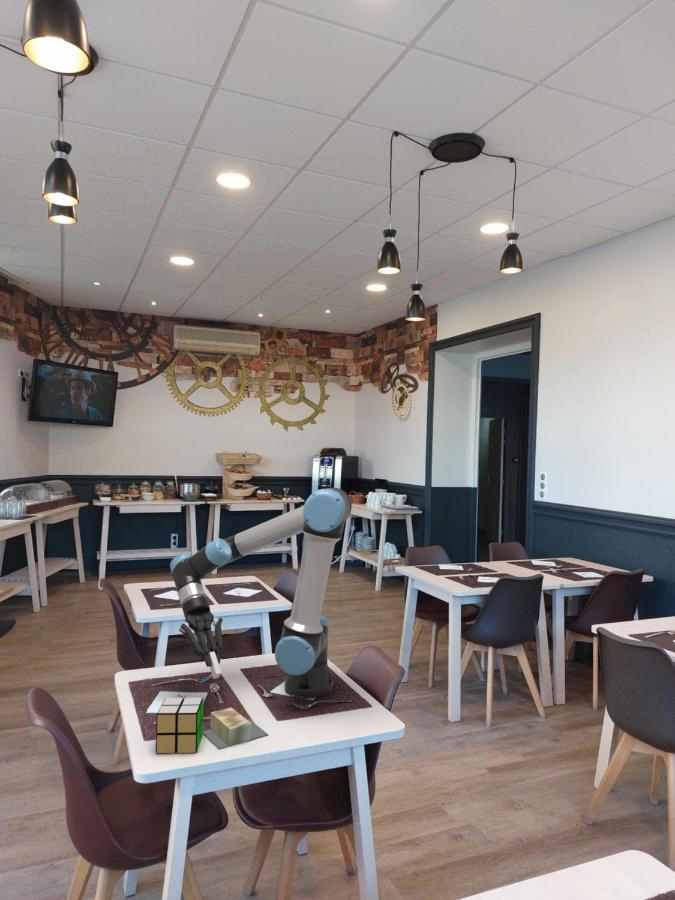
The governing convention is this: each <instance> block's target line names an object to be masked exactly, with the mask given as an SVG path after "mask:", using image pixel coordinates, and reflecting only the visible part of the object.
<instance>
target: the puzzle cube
mask: <svg viewBox="0 0 675 900" xmlns="http://www.w3.org/2000/svg"><path fill="white" fill-rule="evenodd" d="M155 716H156V717H155V718H156V719H155V721H156V724H155V733H156V734H155V754H156V753H157V754H156V755H167V753H175V754H178V753H179V754H197V753H198V751H199V747H200V744H201V741H202V738H203V736H204V735H203V731H204V698H203V697H166V698H164V699H163V701H162V704H161V705H160V707H159V709H158V711H157V712H156V715H155ZM163 753H165V754H163Z"/></svg>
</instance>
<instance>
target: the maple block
mask: <svg viewBox="0 0 675 900" xmlns="http://www.w3.org/2000/svg"><path fill="white" fill-rule="evenodd" d="M210 729H213V730H214V731H215V732H216V733H217V734H218V735H219V736H220V737H221V738H223V739H224V740H225V741H226V742H227V743H228V744H229V745H232V744H236V743H239V742H243V741H246V740H250V739H251V723H250V722H249V721H248V720H247V718H245V717H244V716H243V715H242V714H241V713H239V712H238V711H236V710H235V709H234V708H233V707H228V708H227V707H226V708H222V709H219V710H215V711H212V712H210ZM250 741H251V740H250ZM243 743H244V742H243Z"/></svg>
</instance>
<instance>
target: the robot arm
mask: <svg viewBox="0 0 675 900" xmlns="http://www.w3.org/2000/svg"><path fill="white" fill-rule="evenodd" d="M352 509H353V507H352V500H351V498H350V496H349V495H348V494H347V492H346V491H345V490H343V489H341V488H339V487H327V488H321V489H318V490H316V491H313V492H312V494H310V495H309V497H308V498H307V499H306V500H305V502H304V505H302V506H299V507H298V508H295V509H293V510H289V511H287V512H286V513H284V514H281V515H278V516H276V517H274V518H272V519H269V520H267V521H265V522H261V523H260V524H257V525H255V526H253V527H250V528H248V529H246V530H243V531H241V532H239V533H236V534H234V535H231V536H228V537H226V538H223V539H222V538H219V537H218V538H215V539H214V540H212V541H210V542H208V543H207V544H206V545H205V546H204V547H202V548H201V549H200V550H198V551H197V552H196V553H194V554H192V555H191V554H188V553H184V554H183V553H182V554H180V555H177V556H175V557H174V558H173V559H172V560H171V561H170V564H169V567H170V572H171V578H172V579H173V582H174V585H175V588H176V592H177V596H178V600H179V602H180V605H181V610H182V613H183V615H184V619H185V620H184V622H183V623H181V625H180V627H179V629H178V631H179V632H180V633H181V634H182V635H183V636H184V637H185V639H186V641H187V642H188V644H189V646H190V647H191V649H192V651H193V653H194V654H195V656H196V657H201V658H202V659H203V660H204V662H205V666H206V667H207V668H209V670H210V673H211V676H212V678H213V680H214V679H218V678H220V676H221V674H222V671H221V667H220V663H221V658H220V655H219V653H220V652H221V651H222V649H223V647H224V645H223V633H222V623H223V618H222V617H219V618H217V617H214V614H213V613H212V612H211V607H210V605H209V602H208V599H207V595H206V592H205V590H204V587H203V583H202V579H204V578H205V577H207V576H209V574H211V573H212V572H214V571H215V570H217V569H219V568H220V567H223V566H225V565H226V564H229V563H232V562H234V561H236V560H238V559H241V558H243V557H245V556H248V555H250V554H253V553H255V552H258V551H260V550H262V549H265V548H267V547H270V546H272V545H275V544H277V543H279V542H282V541H284V540H286V539H289V538H290V539H291V538H292V537H294V536H297V535H299V534H301V533H302V534H304V536H305V543H304V547H303V552H302V558H301V564H300V567H299V571H298V572H299V573H298V578H297V583H296V588H295V594H294V598H293V603H292V607H291V612H290V616H289V617H287V618H286V619H285V620H284V621H283V626H282V632H281V635H280V639H279V640H278V642H277V643H276V645H275V649H274V650H275V651H274V658H275V662H276V664H277V665H278V666H279V668H280V669H281V670H282V671H283V672H285V673H286V674H287V675H286V678H285V679H284V691H285V692H286V693H287V694H289V695H290V694H291V695H290V696H292V695H294V696H293V697H296V696H297V698H302V699H303V698H304V699H305V698H306V699H311V698H312V699H313V698H319V697H324V696H327V695H329V694H330V693H332V692H333V688H334V687H333V684H334V683H333V679H332V678H333V677H332V675H331V673H330V669H329V665H328V658H329V656H328V650H329V649H328V648H329V647H328V646H329V643H328V642H329V620H328V618H327V617H326V616H323V615H321V614H322V610H323V605H324V601H325V594H326V589H327V584H328V580H329V575H330V570H331V566H332V565H331V564H332V560H333V554H334V550H335V546H336V543H338V542H339V541H340V540H341V539H342V536H343V532H344V527H345V522H346V521H347V520H348V519H349V517H350V515H351V513H352ZM212 623H213V627H214V634H213V631H212ZM193 632H194V633H193Z"/></svg>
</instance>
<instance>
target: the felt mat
mask: <svg viewBox="0 0 675 900" xmlns="http://www.w3.org/2000/svg"><path fill="white" fill-rule="evenodd" d="M246 720H248V721H249V722H250V723H251V739H250V740H246V741H243V742H239V743H236V744H232V745H229V744H228V743H227V742H226V741H225V740H224V739H223V738H221V737H220V736H219V735H218V734H217V733H216V732H215V731H214V730H213V729H212V728H210V729H206V730H203V735H202V736H204V737H205V738H206V739H207V740H208V741H209V742H210V743H212V745H214V746H215V748H217V749H218V750H223V749H225V748H226V749H227V748H230V747H232V746H236V745H237V746H238V745H239V744H243V743H246V742H251V741H252V740H253V741H254V740H257V739H261V738H263V737H268V736H269V734H268V732H266V731H265V730H264V729H263V728H261V727H260V726H258V725H257V724H256V723H255V722H253V721H252V720H251V719H250V718H248V719H247V718H246Z"/></svg>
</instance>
